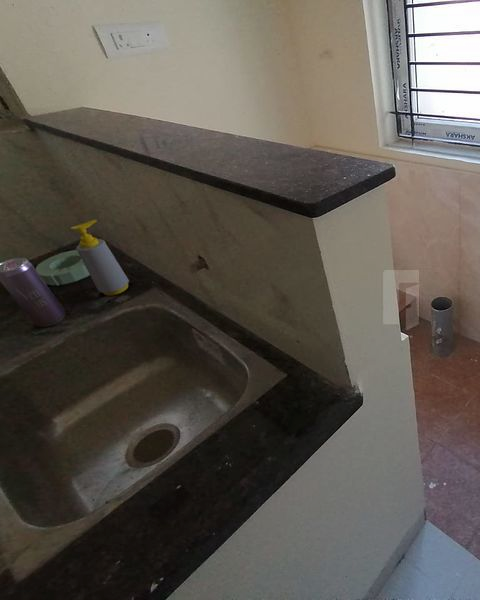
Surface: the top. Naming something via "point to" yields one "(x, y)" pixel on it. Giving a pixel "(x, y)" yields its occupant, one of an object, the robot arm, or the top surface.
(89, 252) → the soap bottle
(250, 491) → the top surface
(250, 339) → the top surface
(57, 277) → the socket pad
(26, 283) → the beverage can
